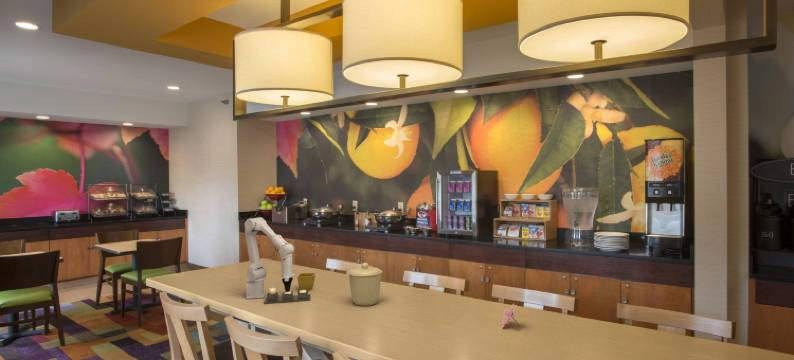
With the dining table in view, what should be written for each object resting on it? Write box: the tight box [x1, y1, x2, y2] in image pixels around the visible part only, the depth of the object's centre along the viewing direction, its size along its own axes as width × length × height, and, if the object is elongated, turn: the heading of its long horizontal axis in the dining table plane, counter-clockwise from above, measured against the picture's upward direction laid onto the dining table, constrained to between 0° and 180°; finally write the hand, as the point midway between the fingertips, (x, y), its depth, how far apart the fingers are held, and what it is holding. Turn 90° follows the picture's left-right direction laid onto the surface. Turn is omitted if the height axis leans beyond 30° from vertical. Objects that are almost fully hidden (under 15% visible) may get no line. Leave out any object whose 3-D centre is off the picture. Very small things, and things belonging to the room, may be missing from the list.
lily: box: [500, 303, 520, 330], centre depth 196 cm, size 12×12×10 cm
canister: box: [347, 262, 383, 307], centre depth 236 cm, size 18×18×21 cm
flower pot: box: [296, 272, 316, 292], centre depth 268 cm, size 9×9×9 cm
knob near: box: [268, 286, 277, 295], centre depth 244 cm, size 4×4×4 cm
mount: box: [263, 290, 312, 305], centre depth 246 cm, size 24×10×4 cm, turn 101°
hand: (287, 291), depth 246 cm, fingers closed, pressing on knob middle
